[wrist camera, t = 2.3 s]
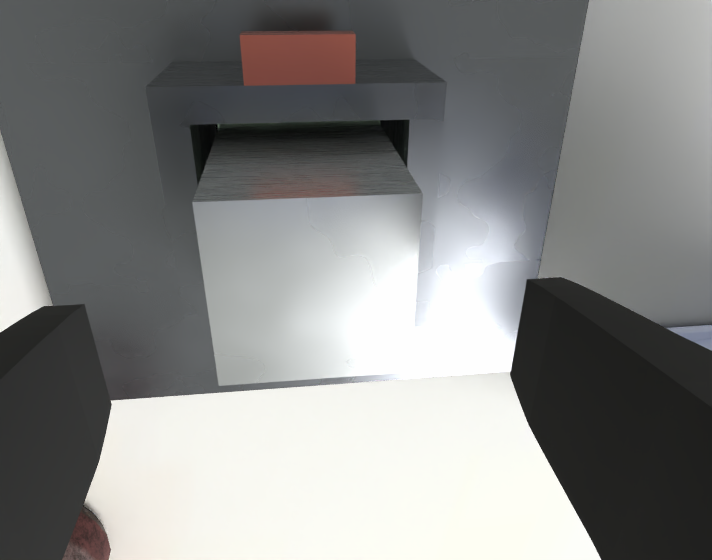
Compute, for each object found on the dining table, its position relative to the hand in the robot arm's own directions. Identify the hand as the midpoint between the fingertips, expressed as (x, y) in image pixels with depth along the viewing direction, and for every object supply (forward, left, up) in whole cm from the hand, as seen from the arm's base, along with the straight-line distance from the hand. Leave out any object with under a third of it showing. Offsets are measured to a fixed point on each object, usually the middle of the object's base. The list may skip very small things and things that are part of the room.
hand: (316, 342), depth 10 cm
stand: (0, 0, -10) cm, 10 cm away
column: (0, 0, -10) cm, 10 cm away
